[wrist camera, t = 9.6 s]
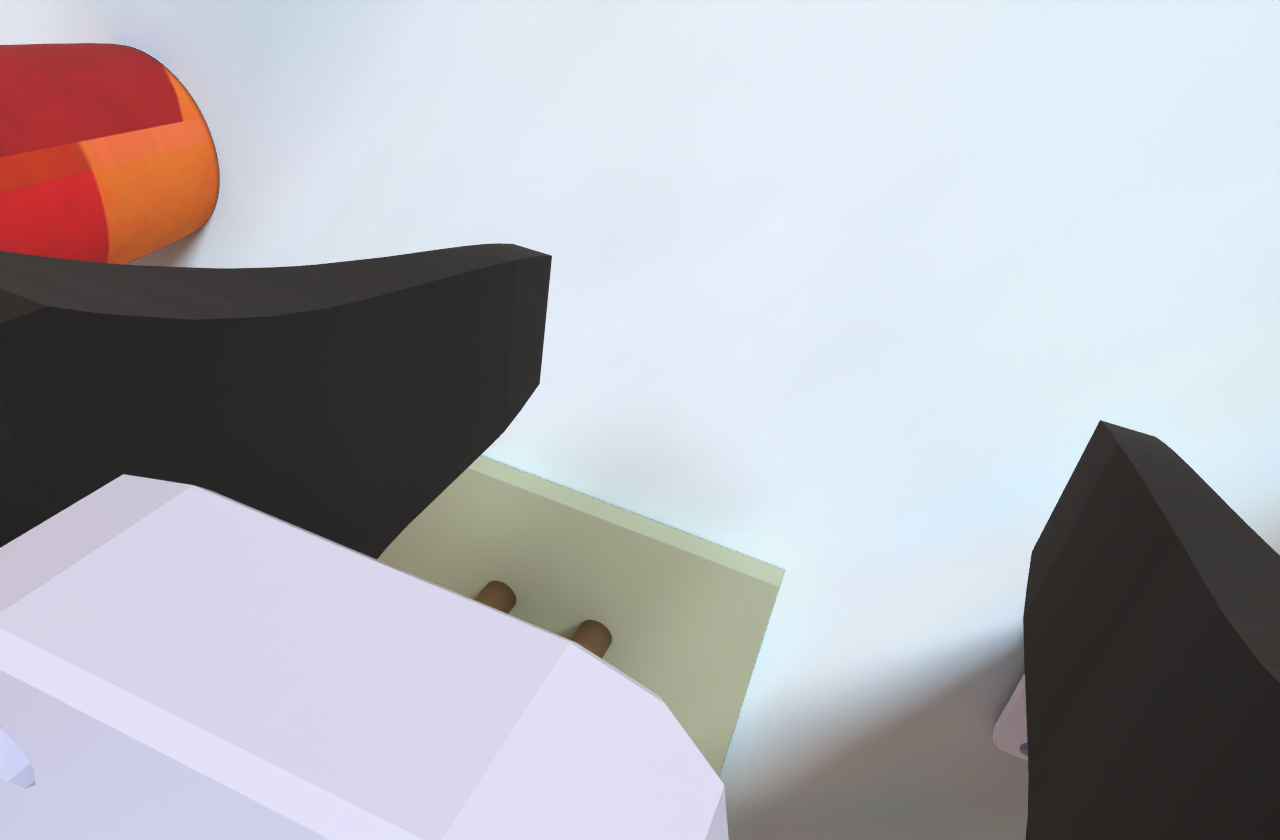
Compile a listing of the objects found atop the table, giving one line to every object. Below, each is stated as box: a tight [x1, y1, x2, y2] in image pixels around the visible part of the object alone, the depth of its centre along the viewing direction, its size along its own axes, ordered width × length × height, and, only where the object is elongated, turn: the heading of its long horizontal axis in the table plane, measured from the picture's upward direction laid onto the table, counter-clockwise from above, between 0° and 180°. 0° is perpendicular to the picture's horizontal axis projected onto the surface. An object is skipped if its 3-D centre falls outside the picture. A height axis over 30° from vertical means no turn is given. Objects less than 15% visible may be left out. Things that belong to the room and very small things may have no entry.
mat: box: [377, 455, 785, 777], centre depth 31 cm, size 14×16×1 cm
